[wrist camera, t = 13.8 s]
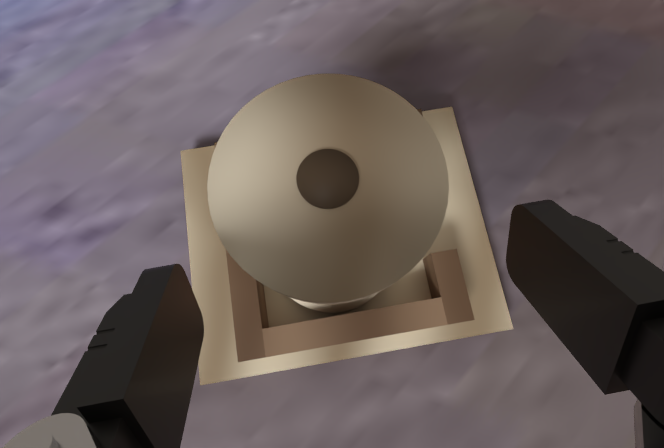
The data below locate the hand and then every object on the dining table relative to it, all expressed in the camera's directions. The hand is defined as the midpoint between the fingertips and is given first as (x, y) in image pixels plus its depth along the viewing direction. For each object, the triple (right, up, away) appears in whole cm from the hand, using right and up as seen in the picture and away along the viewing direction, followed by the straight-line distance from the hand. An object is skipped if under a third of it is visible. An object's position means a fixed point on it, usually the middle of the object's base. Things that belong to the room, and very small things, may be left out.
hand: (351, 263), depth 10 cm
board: (0, 0, +12) cm, 12 cm away
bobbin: (0, 0, +10) cm, 10 cm away
